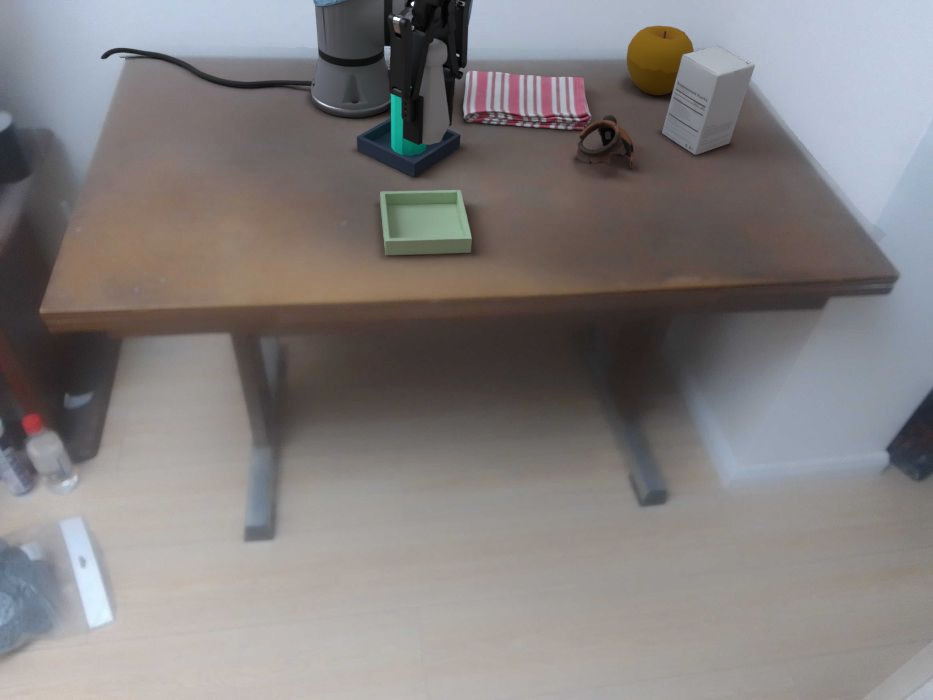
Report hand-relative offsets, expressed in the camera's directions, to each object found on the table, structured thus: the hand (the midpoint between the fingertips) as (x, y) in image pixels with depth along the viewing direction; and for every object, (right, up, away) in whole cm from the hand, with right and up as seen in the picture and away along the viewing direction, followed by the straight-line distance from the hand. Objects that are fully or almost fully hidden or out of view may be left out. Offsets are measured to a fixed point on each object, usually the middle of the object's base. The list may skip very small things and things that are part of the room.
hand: (427, 131), depth 103 cm
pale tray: (-1, -11, +11) cm, 16 cm away
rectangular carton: (+47, +9, +36) cm, 60 cm away
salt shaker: (0, -1, +1) cm, 1 cm away
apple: (+42, +23, +50) cm, 69 cm away
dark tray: (-5, +5, +27) cm, 28 cm away
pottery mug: (+29, +3, +29) cm, 41 cm away
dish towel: (+16, +17, +41) cm, 47 cm away
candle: (-5, +5, +27) cm, 27 cm away
